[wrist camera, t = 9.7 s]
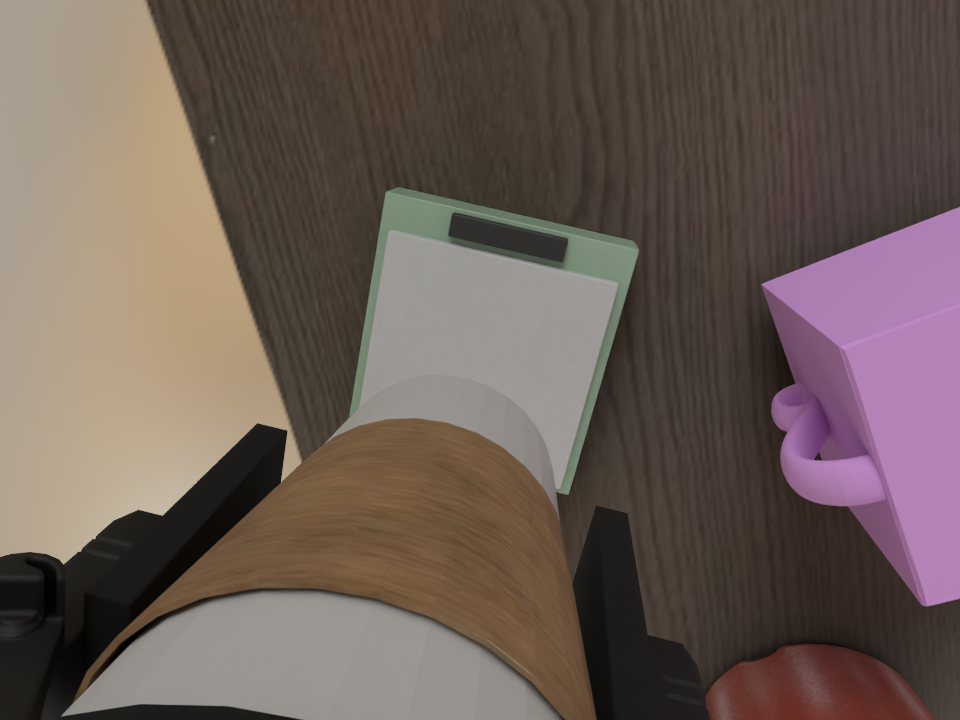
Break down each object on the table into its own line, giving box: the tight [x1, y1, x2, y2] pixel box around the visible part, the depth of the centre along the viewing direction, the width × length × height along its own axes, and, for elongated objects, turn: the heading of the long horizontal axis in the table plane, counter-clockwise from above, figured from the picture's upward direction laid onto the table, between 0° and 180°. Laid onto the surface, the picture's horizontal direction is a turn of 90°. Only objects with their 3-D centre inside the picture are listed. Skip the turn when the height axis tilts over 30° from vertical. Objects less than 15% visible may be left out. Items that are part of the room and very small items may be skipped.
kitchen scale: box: [349, 187, 639, 495], centre depth 33 cm, size 11×12×3 cm
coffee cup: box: [54, 375, 597, 720], centre depth 12 cm, size 8×8×15 cm
